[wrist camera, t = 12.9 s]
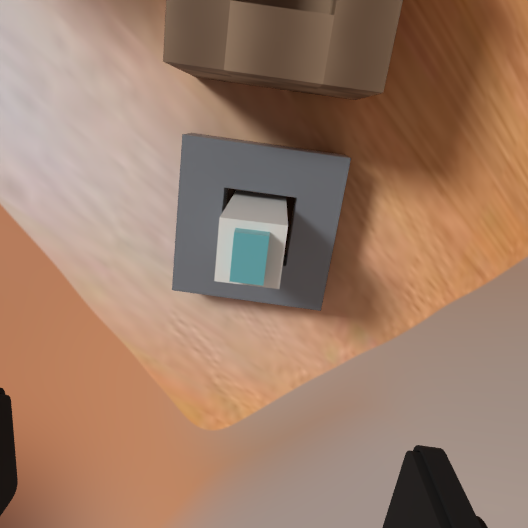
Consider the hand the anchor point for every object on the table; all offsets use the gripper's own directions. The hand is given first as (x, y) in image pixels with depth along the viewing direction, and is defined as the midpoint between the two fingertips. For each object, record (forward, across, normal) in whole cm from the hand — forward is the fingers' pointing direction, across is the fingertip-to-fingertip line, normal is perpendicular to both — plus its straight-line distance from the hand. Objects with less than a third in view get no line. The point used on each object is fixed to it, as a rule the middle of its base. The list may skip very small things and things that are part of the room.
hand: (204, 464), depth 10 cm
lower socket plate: (+26, 0, 0) cm, 26 cm away
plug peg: (+26, 0, 0) cm, 26 cm away
